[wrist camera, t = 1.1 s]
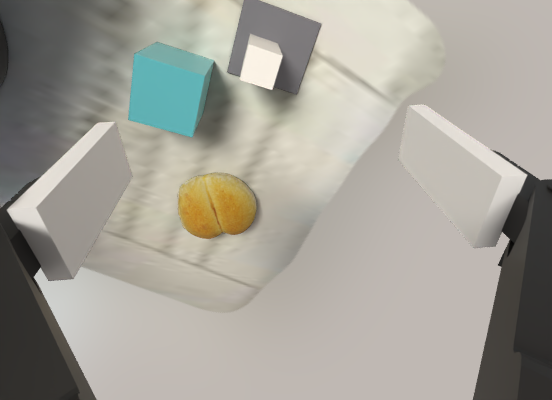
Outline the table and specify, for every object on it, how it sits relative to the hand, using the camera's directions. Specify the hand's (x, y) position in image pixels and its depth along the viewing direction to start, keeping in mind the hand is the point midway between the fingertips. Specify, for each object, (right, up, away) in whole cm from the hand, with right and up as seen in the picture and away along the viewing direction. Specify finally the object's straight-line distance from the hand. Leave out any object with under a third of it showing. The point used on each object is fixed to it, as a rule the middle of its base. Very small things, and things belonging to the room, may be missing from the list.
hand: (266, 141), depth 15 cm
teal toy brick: (-9, +9, +16) cm, 20 cm away
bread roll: (-7, -3, +24) cm, 25 cm away
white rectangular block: (-1, +11, +15) cm, 19 cm away
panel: (0, +11, +15) cm, 19 cm away
